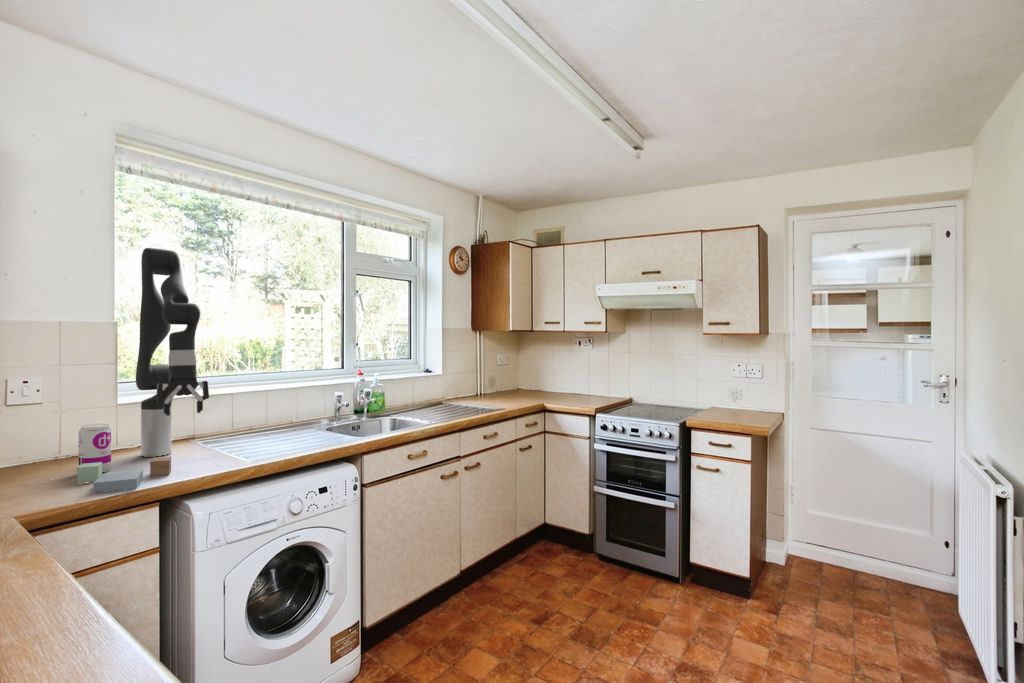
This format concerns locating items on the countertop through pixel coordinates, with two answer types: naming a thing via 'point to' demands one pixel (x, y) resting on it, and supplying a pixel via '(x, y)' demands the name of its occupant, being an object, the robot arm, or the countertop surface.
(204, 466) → the countertop surface
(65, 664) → the countertop surface
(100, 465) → the sage cube
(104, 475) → the slate base
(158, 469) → the walnut cube
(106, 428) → the supplement can
